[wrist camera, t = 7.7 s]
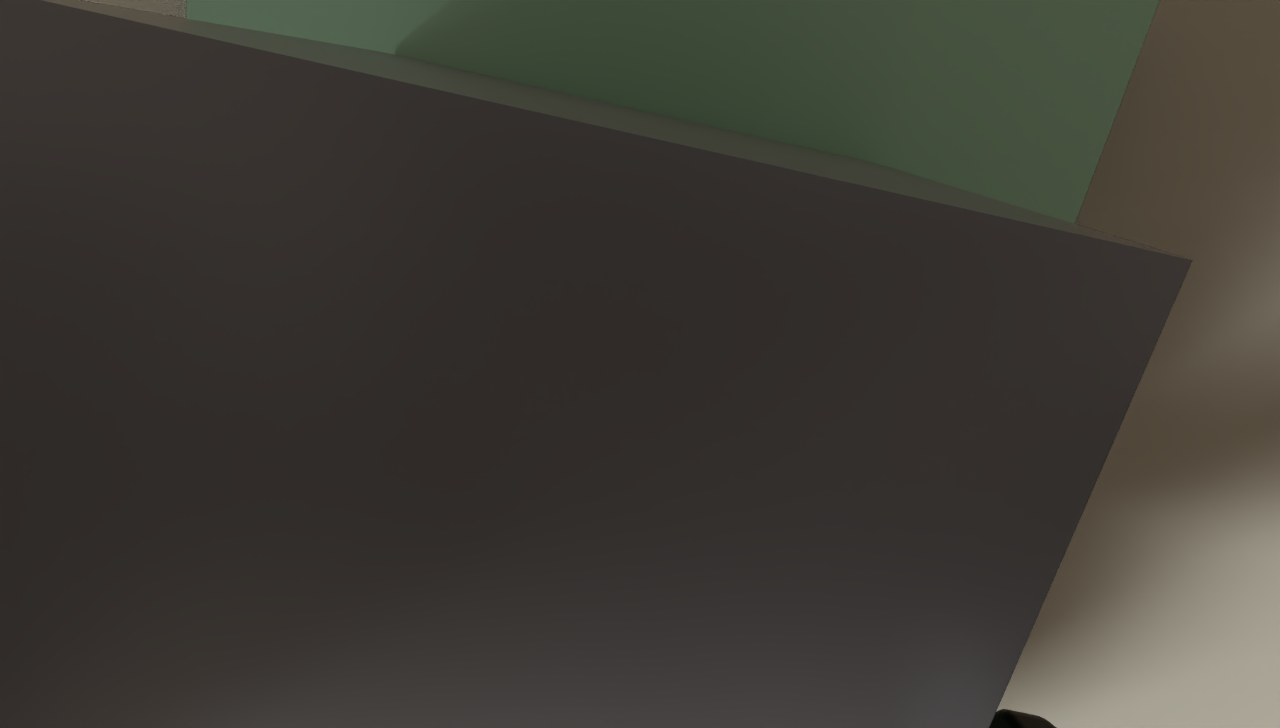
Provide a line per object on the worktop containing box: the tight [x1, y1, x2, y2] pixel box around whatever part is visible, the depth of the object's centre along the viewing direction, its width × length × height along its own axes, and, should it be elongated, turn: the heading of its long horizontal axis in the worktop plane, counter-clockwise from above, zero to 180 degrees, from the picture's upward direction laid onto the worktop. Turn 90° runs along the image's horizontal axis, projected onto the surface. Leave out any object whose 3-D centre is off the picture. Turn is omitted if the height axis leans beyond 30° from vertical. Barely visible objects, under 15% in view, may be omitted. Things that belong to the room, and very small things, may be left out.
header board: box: [186, 0, 1160, 224], centre depth 9 cm, size 9×14×4 cm, turn 168°
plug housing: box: [0, 0, 1192, 728], centre depth 7 cm, size 5×10×5 cm, turn 168°
